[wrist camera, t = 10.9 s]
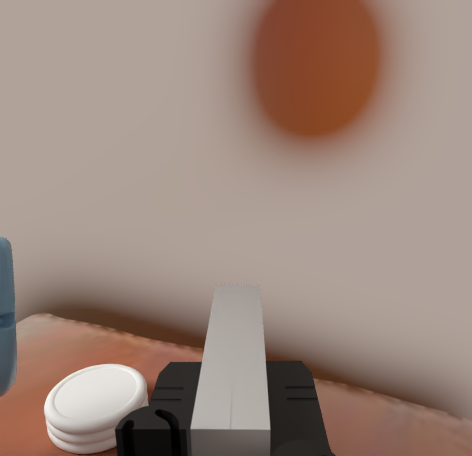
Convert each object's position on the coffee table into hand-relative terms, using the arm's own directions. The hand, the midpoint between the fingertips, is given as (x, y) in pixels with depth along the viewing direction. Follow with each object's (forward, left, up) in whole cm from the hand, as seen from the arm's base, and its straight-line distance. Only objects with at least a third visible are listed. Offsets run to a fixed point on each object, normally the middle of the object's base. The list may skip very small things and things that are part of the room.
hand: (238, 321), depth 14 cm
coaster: (-26, +10, -25) cm, 37 cm away
